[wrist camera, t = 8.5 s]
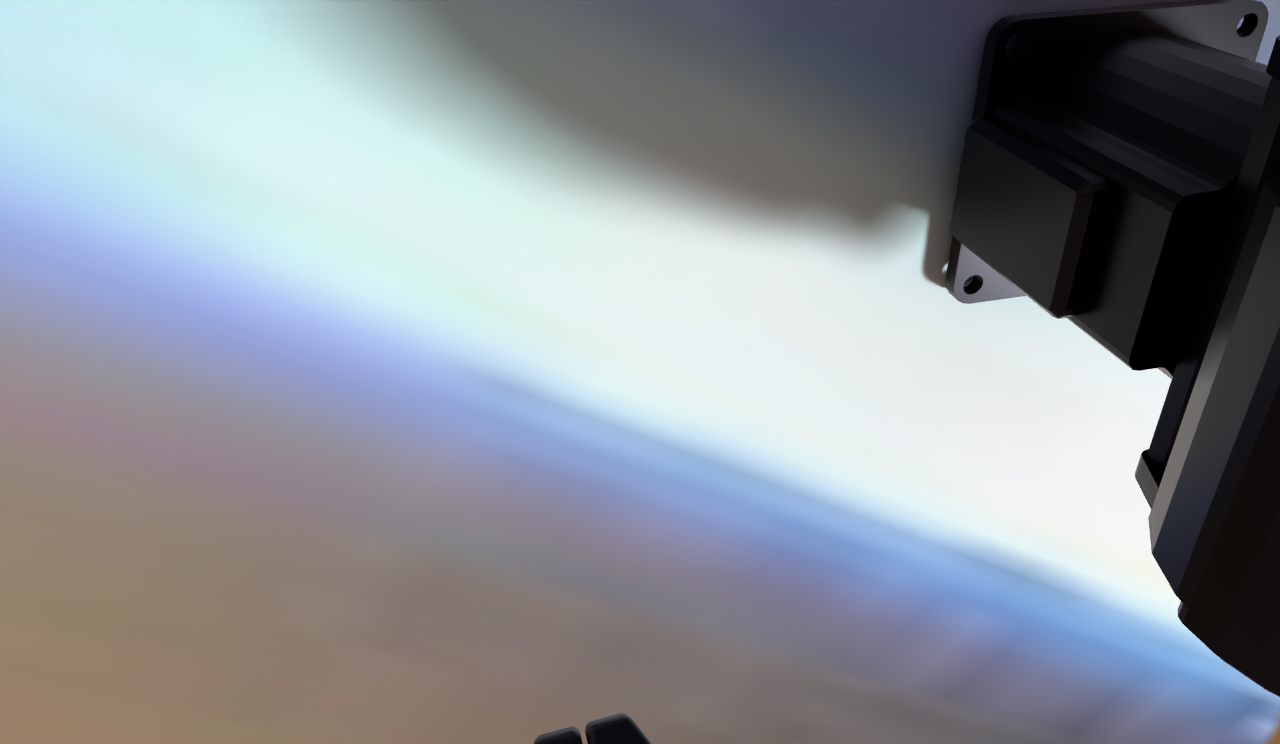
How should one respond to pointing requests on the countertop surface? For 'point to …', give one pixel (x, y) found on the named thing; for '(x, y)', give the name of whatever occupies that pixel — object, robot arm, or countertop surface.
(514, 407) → the countertop surface
